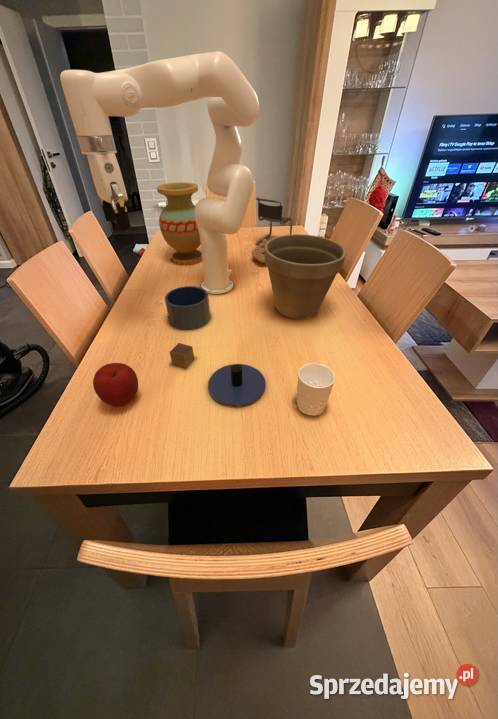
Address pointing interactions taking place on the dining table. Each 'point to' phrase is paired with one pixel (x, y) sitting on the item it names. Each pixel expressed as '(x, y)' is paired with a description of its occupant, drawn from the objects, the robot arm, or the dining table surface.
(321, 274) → the plant pot
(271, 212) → the chair
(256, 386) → the lid
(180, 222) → the vase
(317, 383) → the white cup
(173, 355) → the block
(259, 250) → the oil lamp
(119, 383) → the apple
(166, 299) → the tin
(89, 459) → the dining table surface
